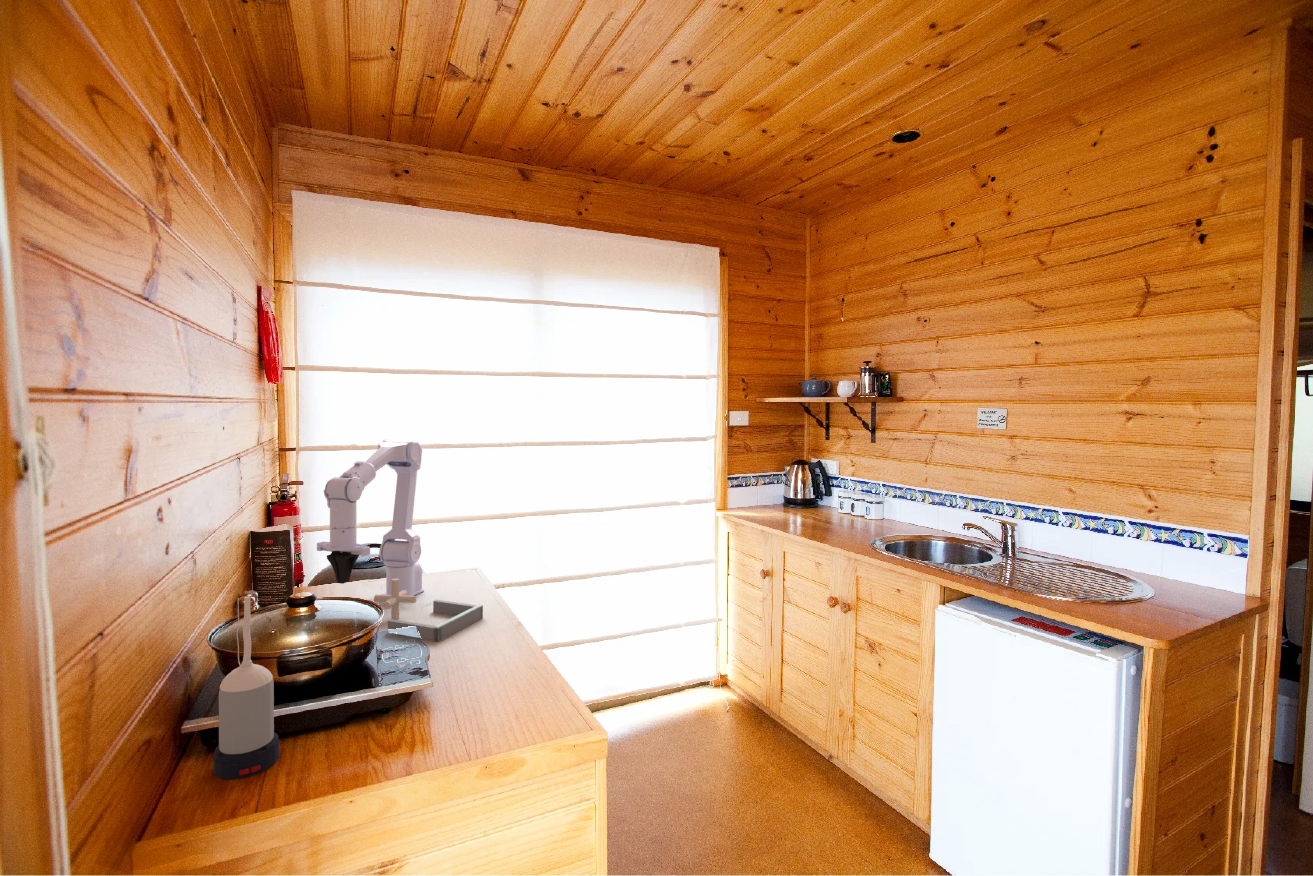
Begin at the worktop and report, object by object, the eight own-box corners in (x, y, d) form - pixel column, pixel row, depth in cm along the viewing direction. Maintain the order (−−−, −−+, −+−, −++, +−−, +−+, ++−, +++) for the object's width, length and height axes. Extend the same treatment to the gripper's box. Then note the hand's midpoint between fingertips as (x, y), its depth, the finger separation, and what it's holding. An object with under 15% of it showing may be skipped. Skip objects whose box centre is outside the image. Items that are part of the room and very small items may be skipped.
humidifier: (243, 784, 85) (242, 608, 84) (199, 773, 87) (197, 601, 86) (292, 753, 93) (292, 591, 92) (250, 744, 95) (250, 586, 94)
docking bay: (387, 633, 143) (387, 619, 143) (436, 610, 159) (436, 598, 159) (438, 641, 138) (438, 627, 138) (482, 617, 155) (482, 605, 155)
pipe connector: (406, 626, 148) (406, 585, 147) (365, 625, 148) (365, 584, 147) (423, 612, 158) (423, 574, 157) (385, 611, 158) (385, 573, 157)
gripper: (306, 527, 145) (306, 583, 146) (354, 532, 141) (353, 590, 141) (330, 522, 152) (330, 576, 153) (376, 527, 147) (376, 582, 148)
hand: (343, 582), depth 147 cm, fingers closed
